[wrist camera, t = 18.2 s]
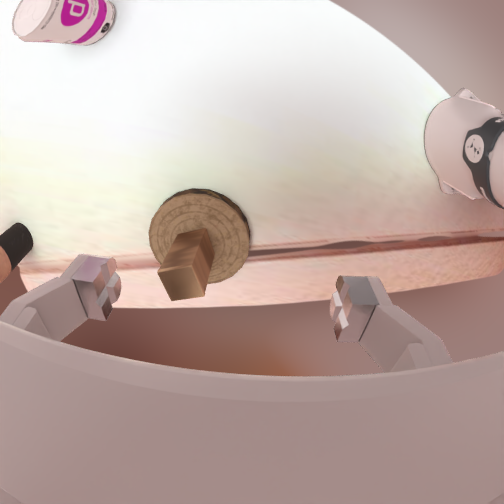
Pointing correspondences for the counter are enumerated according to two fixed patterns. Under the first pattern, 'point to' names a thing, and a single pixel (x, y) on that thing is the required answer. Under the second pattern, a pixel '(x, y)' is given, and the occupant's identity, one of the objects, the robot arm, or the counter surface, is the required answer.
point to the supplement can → (62, 21)
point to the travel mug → (13, 248)
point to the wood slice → (198, 217)
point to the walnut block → (187, 265)
